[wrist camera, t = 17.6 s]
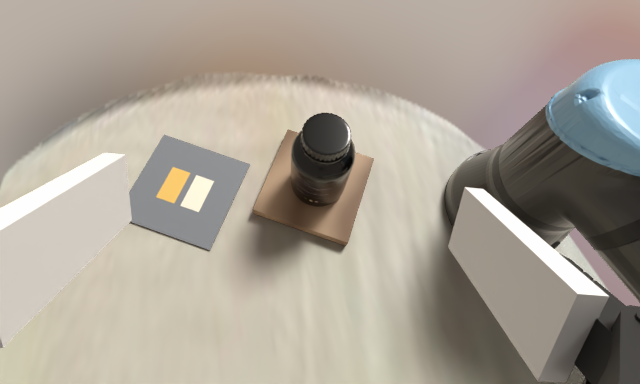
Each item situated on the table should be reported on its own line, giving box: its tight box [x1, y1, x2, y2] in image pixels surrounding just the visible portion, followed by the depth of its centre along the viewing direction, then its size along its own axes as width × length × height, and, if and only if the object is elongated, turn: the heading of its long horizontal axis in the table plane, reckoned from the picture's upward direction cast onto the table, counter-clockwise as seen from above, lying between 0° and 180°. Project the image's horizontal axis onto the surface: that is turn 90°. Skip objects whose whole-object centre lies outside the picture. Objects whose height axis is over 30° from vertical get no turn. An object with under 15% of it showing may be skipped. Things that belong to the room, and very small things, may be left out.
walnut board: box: [253, 130, 374, 246], centre depth 46 cm, size 12×12×2 cm
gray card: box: [129, 135, 250, 250], centre depth 45 cm, size 12×12×1 cm
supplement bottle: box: [291, 113, 355, 207], centre depth 40 cm, size 7×7×12 cm
